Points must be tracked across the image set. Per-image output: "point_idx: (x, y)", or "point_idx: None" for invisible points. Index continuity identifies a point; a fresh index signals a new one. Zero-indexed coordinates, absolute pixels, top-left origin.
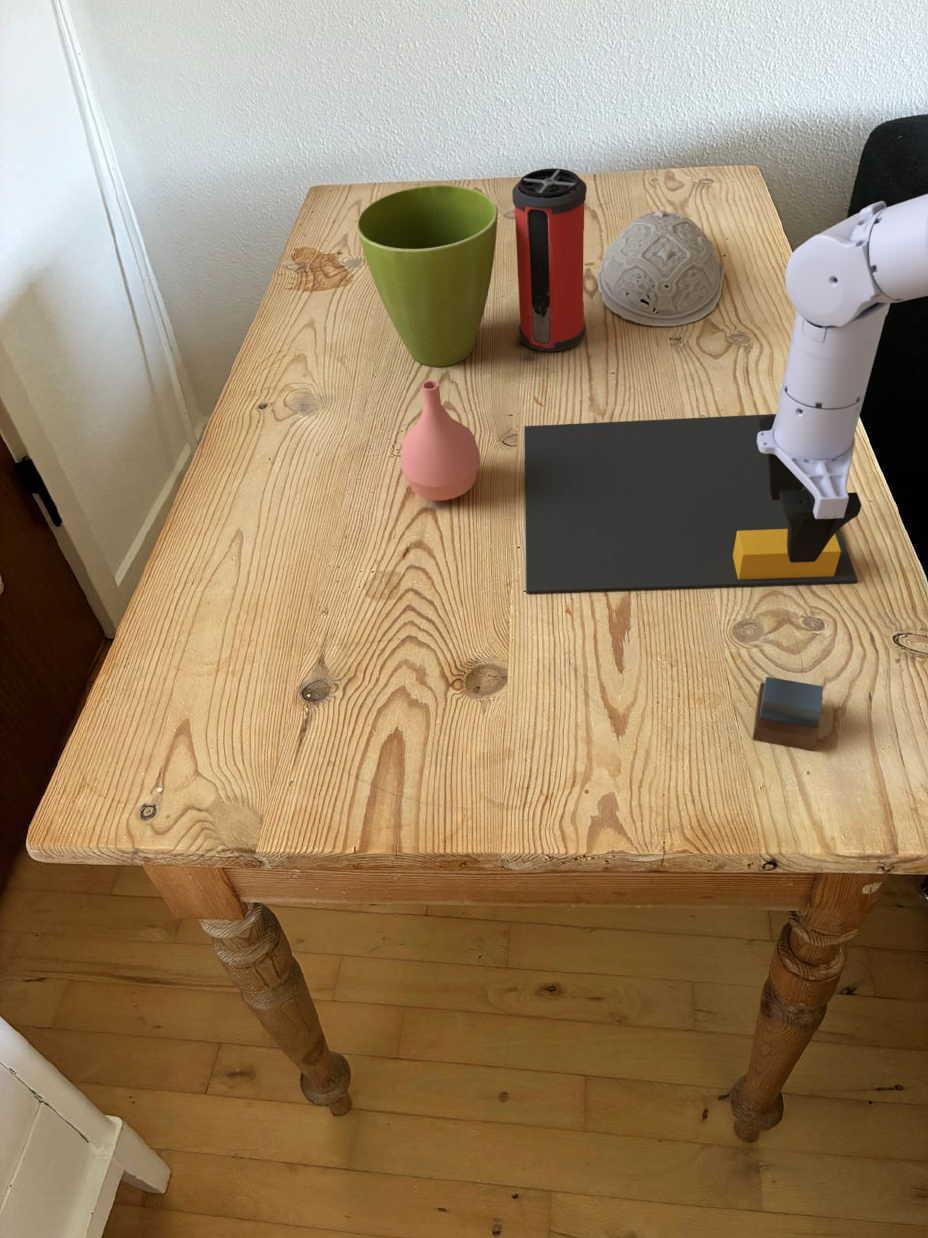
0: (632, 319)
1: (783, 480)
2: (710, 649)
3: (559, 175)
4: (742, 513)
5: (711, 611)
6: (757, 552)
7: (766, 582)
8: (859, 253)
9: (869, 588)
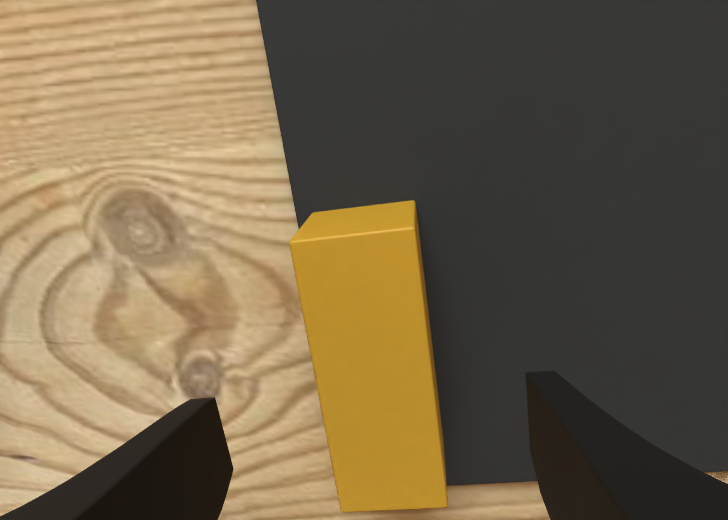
0: None
1: (553, 460)
2: (54, 130)
3: None
4: (621, 236)
5: (192, 133)
6: (304, 289)
7: None
8: None
9: (336, 503)
